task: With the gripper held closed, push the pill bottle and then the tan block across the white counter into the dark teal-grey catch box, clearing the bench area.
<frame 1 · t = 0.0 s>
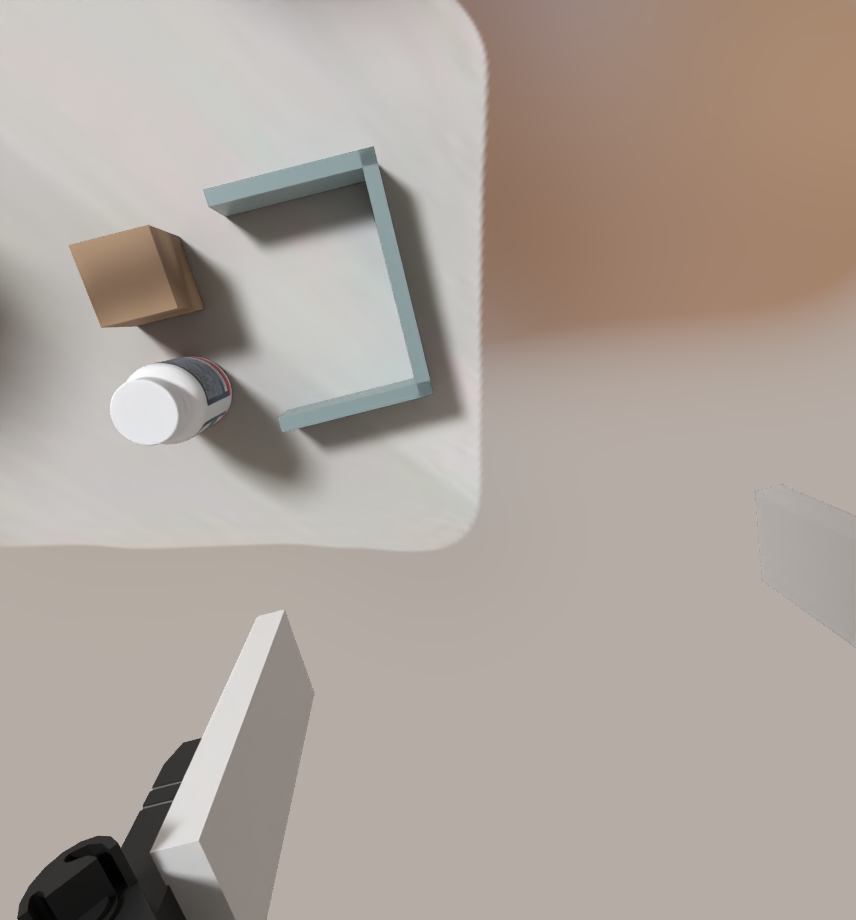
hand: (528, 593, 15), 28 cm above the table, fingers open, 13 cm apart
pill bottle: (198, 391, 40), on the table
catch box: (331, 299, 39), on the table
tan block: (158, 282, 38), on the table
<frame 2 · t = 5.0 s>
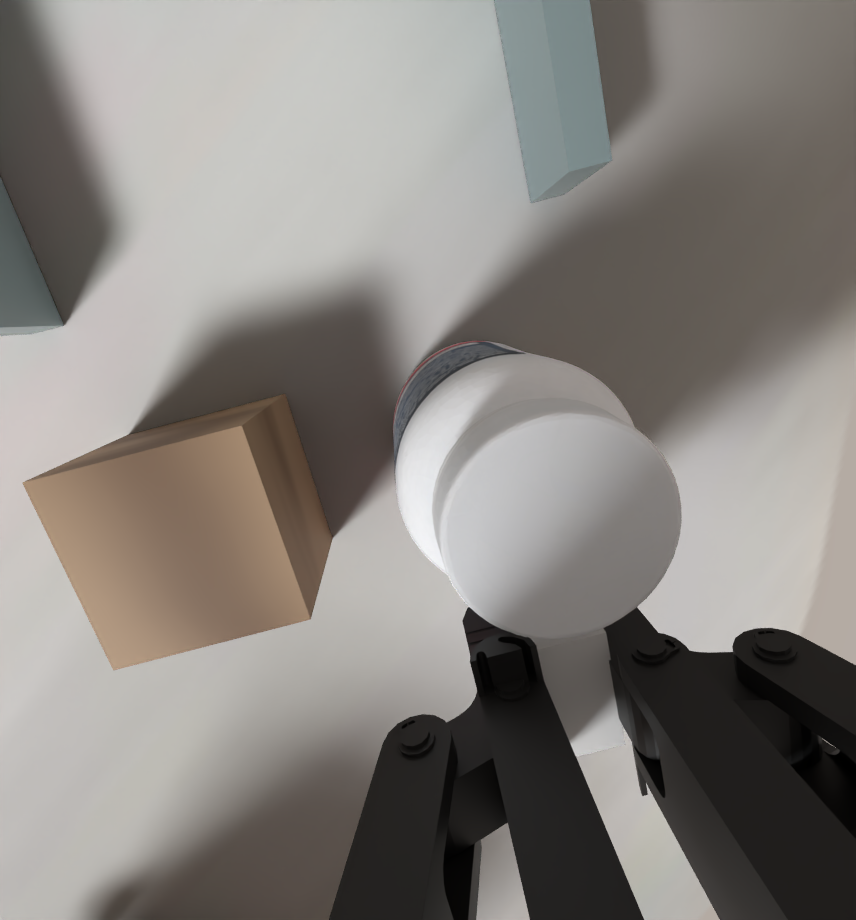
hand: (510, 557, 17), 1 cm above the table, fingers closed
pill bottle: (475, 423, 17), on the table, touching gripper
catch box: (231, 48, 14), on the table
tan block: (235, 487, 17), on the table
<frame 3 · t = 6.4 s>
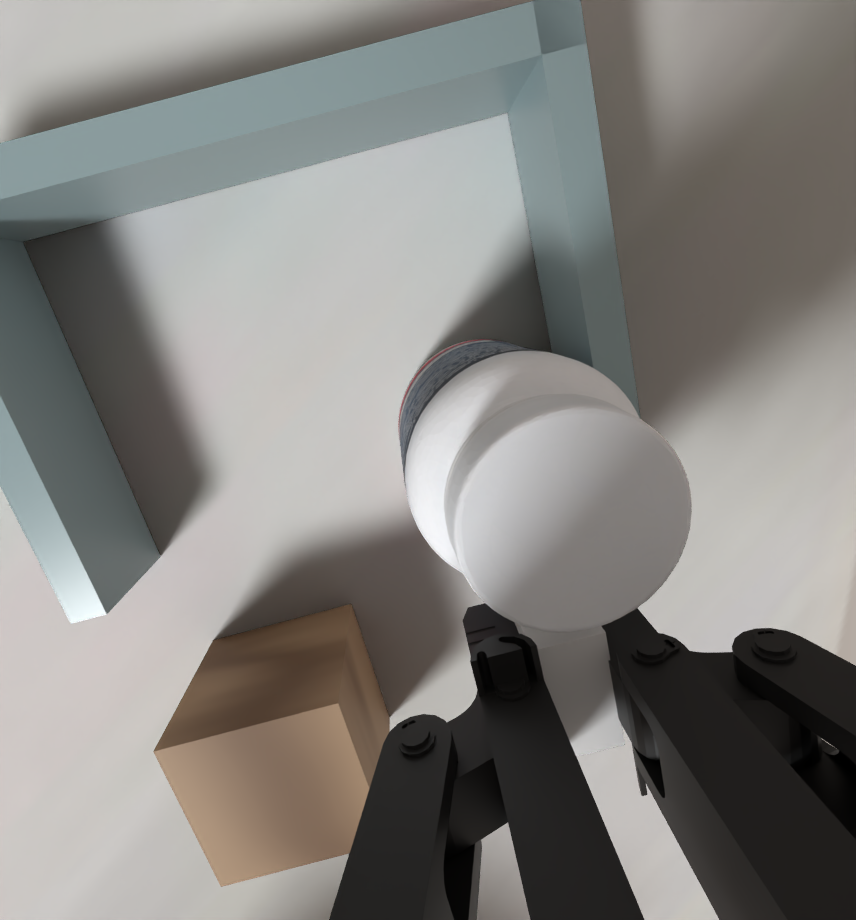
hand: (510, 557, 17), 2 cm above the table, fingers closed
pill bottle: (479, 421, 17), on the table, touching gripper
catch box: (314, 337, 16), on the table
tan block: (304, 678, 19), on the table
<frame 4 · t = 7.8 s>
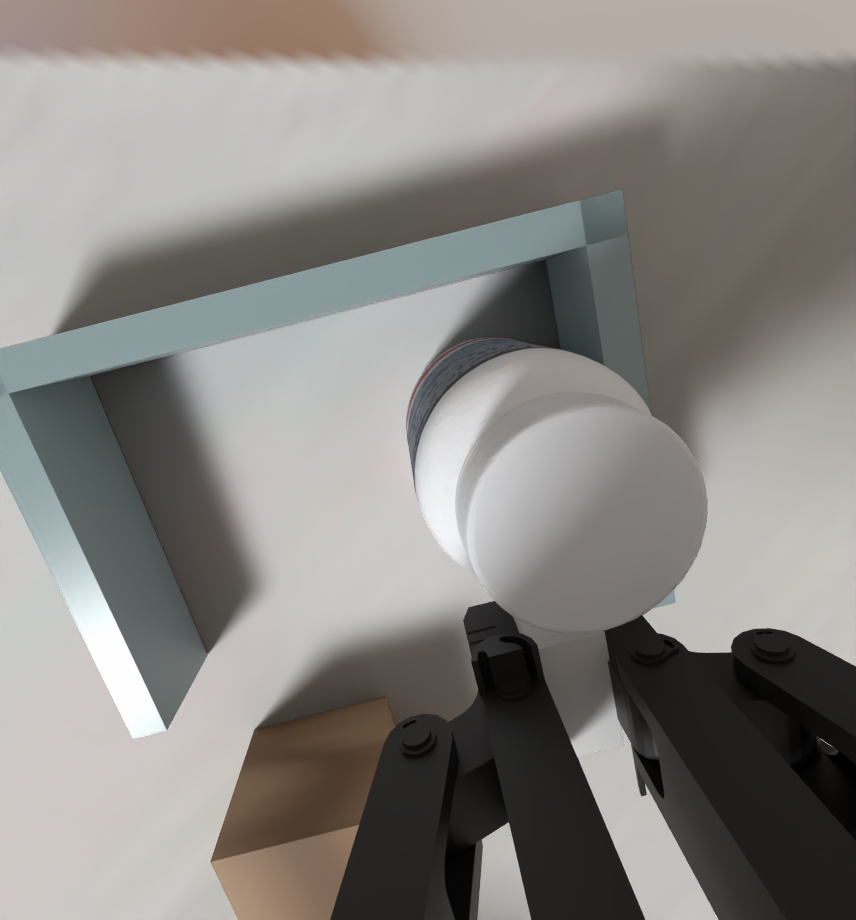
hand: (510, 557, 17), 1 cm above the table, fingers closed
pill bottle: (487, 420, 17), on the table, touching catch box, gripper
catch box: (358, 459, 17), on the table
tan block: (339, 764, 20), on the table
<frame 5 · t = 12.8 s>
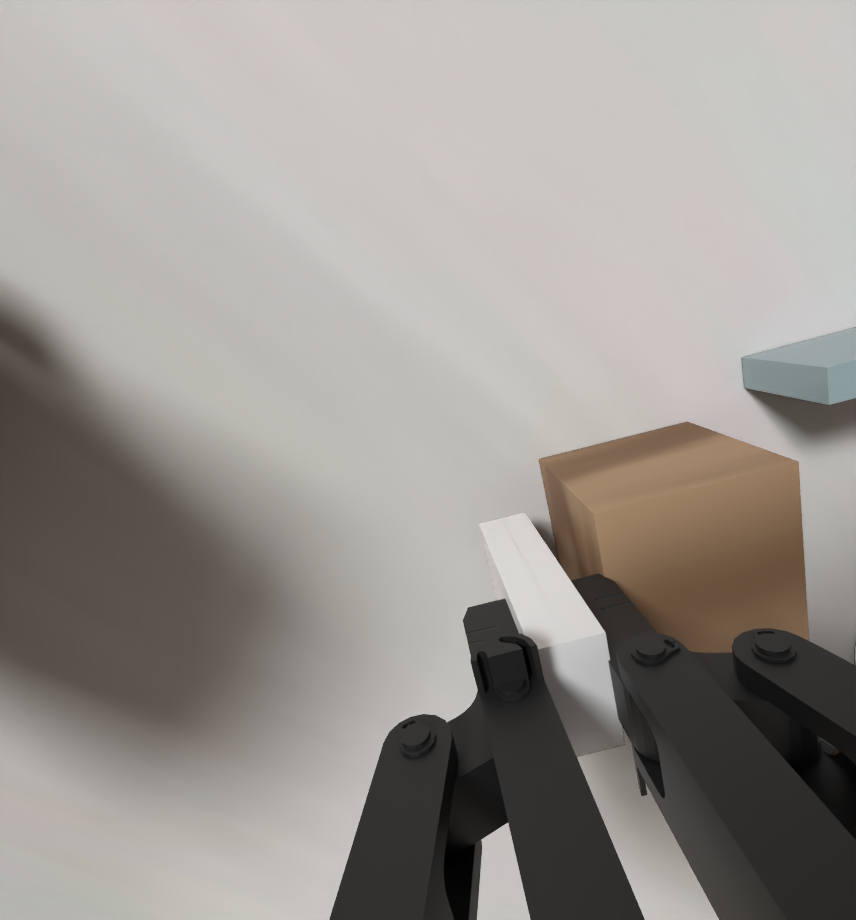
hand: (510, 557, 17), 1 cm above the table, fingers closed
tan block: (623, 509, 18), on the table, touching gripper
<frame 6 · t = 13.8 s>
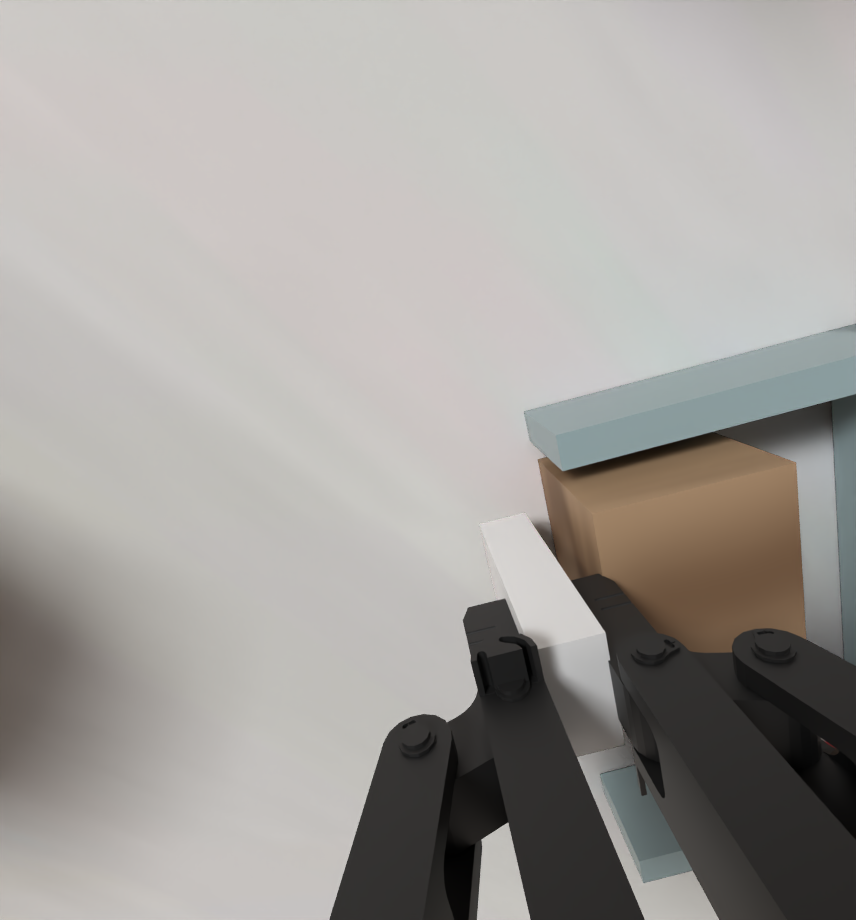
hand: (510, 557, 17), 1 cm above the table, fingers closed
catch box: (716, 585, 19), on the table
tan block: (622, 510, 18), on the table, touching gripper
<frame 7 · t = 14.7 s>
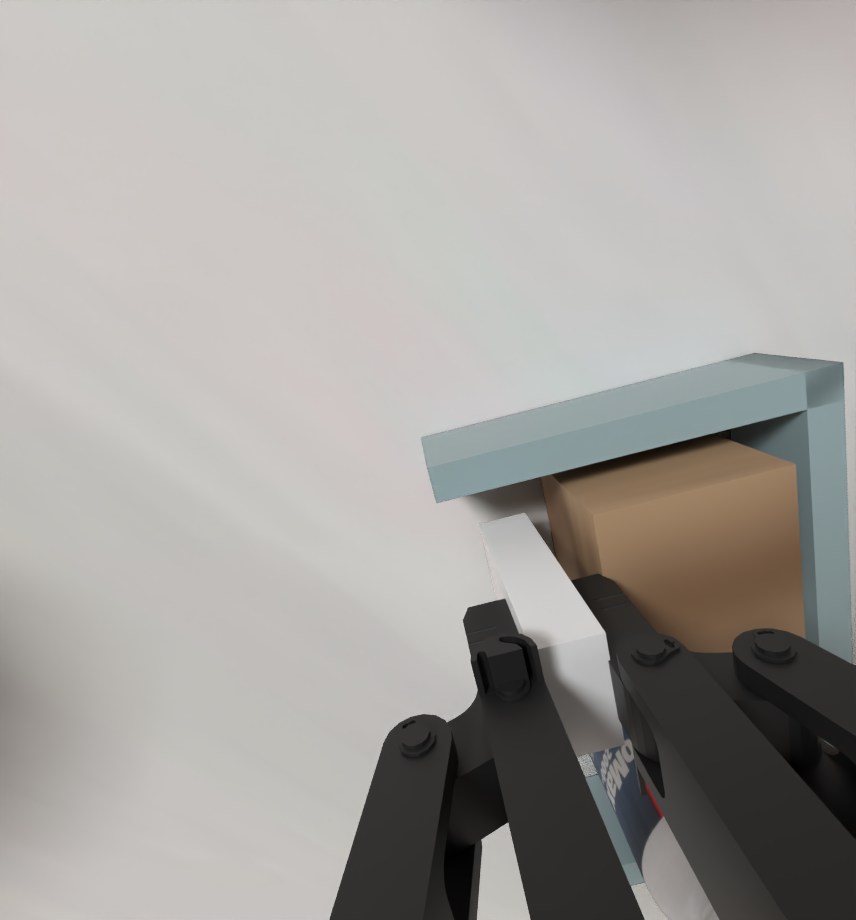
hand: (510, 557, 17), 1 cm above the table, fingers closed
pill bottle: (640, 702, 21), on the table
catch box: (622, 610, 19), on the table
tan block: (621, 511, 18), on the table, touching gripper
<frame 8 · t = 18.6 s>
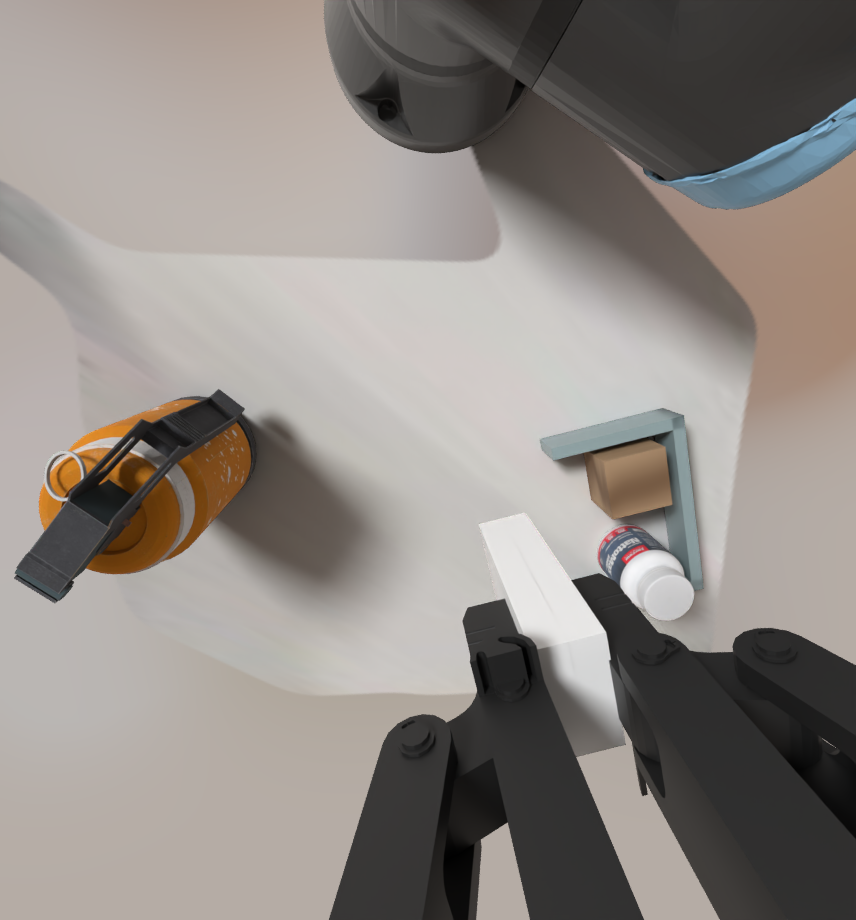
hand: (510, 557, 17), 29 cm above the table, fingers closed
pill bottle: (621, 548, 50), on the table
catch box: (614, 507, 49), on the table
tan block: (613, 466, 48), on the table
canister: (211, 438, 45), on the table
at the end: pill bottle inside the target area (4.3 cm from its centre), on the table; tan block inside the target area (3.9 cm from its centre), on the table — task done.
